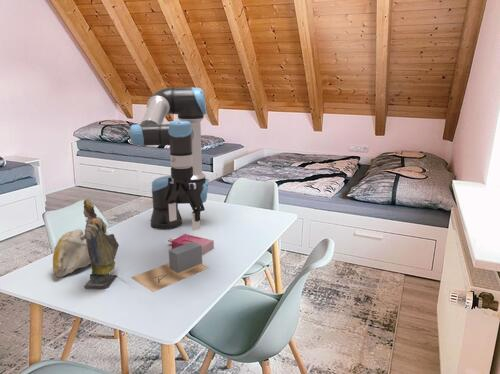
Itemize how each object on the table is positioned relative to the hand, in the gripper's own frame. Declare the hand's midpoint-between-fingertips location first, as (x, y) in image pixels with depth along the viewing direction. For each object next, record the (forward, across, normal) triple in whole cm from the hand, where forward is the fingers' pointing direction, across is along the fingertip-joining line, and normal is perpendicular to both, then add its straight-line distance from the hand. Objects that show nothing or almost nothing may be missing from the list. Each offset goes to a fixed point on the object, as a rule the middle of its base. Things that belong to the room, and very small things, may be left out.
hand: (184, 225), depth 140 cm
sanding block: (+17, 0, 0) cm, 17 cm away
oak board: (+18, -1, -6) cm, 19 cm away
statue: (+18, -16, -25) cm, 35 cm away
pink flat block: (+18, -15, +12) cm, 27 cm away
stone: (+18, -32, -24) cm, 44 cm away
